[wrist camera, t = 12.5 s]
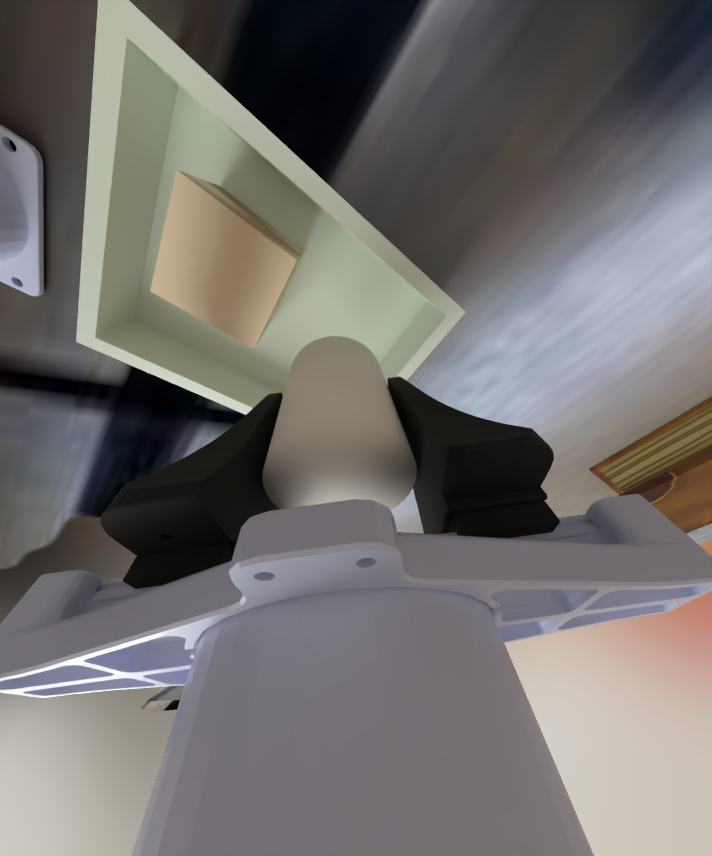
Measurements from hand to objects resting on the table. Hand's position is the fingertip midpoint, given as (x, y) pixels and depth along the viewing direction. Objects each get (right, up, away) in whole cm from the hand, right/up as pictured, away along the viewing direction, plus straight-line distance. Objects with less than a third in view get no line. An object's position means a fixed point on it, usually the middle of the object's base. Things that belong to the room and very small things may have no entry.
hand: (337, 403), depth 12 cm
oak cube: (-6, +9, +3) cm, 11 cm away
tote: (-4, +7, +6) cm, 10 cm away
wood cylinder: (0, +1, +1) cm, 2 cm away
